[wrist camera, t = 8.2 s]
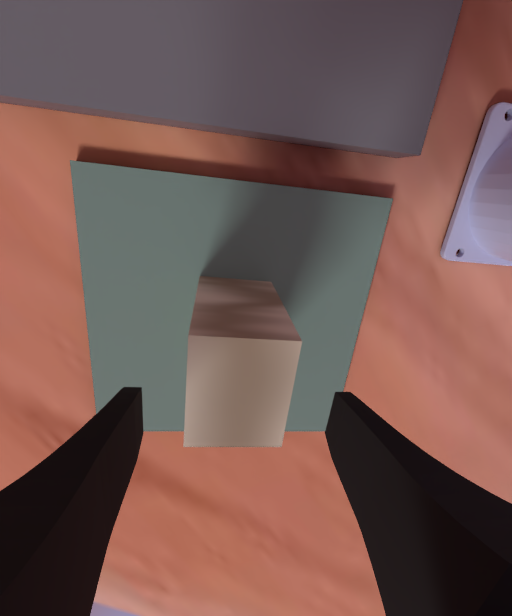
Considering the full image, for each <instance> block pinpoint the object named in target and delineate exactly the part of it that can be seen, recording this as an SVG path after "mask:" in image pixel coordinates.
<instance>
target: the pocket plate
mask: <svg viewBox="0 0 512 616" xmlns="http://www.w3.org/2000/svg"><path fill="white" fill-rule="evenodd" d="M462 3H463V0H0V102H1V103H8V104H15V105H22V106H29V107H37V108H44V109H51V110H58V111H65V112H72V113H79V114H87V115H94V116H101V117H108V118H115V119H122V120H130V121H137V122H144V123H151V124H158V125H165V126H172V127H180V128H187V129H194V130H201V131H208V132H215V133H223V134H230V135H237V136H244V137H251V138H258V139H265V140H273V141H280V142H287V143H294V144H301V145H308V146H316V147H323V148H330V149H337V150H344V151H351V152H358V153H366V154H373V155H380V156H387V157H394V158H401V157H410V156H418V155H421V151H422V147H423V144H424V140H425V137H426V133H427V129H428V126H429V122H430V119H431V115H432V111H433V108H434V104H435V100H436V97H437V93H438V90H439V86H440V82H441V79H442V75H443V72H444V68H445V64H446V61H447V57H448V54H449V50H450V46H451V43H452V39H453V36H454V32H455V28H456V25H457V21H458V17H459V14H460V10H461V7H462Z"/></svg>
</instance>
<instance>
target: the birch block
mask: <svg viewBox="0 0 512 616" xmlns="http://www.w3.org/2000/svg"><path fill="white" fill-rule="evenodd" d="M301 345H302V340H301V338H300V336H299V334H298V332H297V330H296V328H295V326H294V324H293V323H292V321H291V319H290V317H289V315H288V313H287V311H286V309H285V307H284V305H283V303H282V301H281V299H280V297H279V296H278V294H277V292H276V290H275V288H274V286H273V284H272V282H268V281H255V280H243V279H231V278H219V277H207V276H200V277H199V282H198V287H197V292H196V298H195V303H194V308H193V313H192V318H191V324H190V329H189V334H188V353H187V376H186V400H185V423H184V447H282V441H283V436H284V431H285V426H286V421H287V416H288V411H289V406H290V401H291V396H292V391H293V386H294V381H295V376H296V371H297V366H298V360H299V355H300V350H301Z"/></svg>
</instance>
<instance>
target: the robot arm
mask: <svg viewBox="0 0 512 616" xmlns="http://www.w3.org/2000/svg"><path fill="white" fill-rule="evenodd" d="M506 111H507V113H508V117H507V119H506V120H505V118H504V117H505V113H506ZM459 249H460V251H459V253H458V254H457V255H456V252H457V250H459ZM440 254H441V257H442V258H443V259H446V260H450V261H461V262H472V263H483V264H494V265H505V266H512V103H506V102H500V103H497V104H494V105H492V106H491V107H490V108H489V109H488V111H487V113H486V116H485V119H484V122H483V125H482V128H481V131H480V134H479V137H478V140H477V143H476V146H475V149H474V152H473V155H472V158H471V161H470V164H469V167H468V170H467V173H466V176H465V179H464V182H463V185H462V188H461V191H460V194H459V197H458V200H457V203H456V206H455V209H454V212H453V215H452V218H451V221H450V224H449V227H448V230H447V233H446V236H445V239H444V242H443V245H442V248H441V252H440ZM325 435H326V439H327V443H328V447H329V450H330V454H331V457H332V460H333V463H334V465H335V468H336V470H337V473H338V475H339V477H340V480H341V482H342V485H343V487H344V490H345V492H346V494H347V497H348V499H349V502H350V504H351V506H352V509H353V511H354V514H355V516H356V519H357V521H358V524H359V527H360V529H361V532H362V535H363V538H364V541H365V545H366V548H367V551H368V554H369V557H370V561H371V564H372V567H373V571H374V574H375V578H376V581H377V585H378V588H379V592H380V595H381V598H382V602H383V606H384V610H385V613H386V616H512V504H511V503H509V502H507V501H505V500H503V499H501V498H499V497H497V496H496V495H494V494H492V493H490V492H488V491H486V490H485V489H483V488H481V487H480V486H478V485H476V484H474V483H473V482H471V481H469V480H467V479H466V478H464V477H462V476H461V475H459V474H458V473H456V472H454V471H453V470H451V469H450V468H448V467H447V466H445V465H444V464H442V463H441V462H439V461H438V460H436V459H435V458H433V457H432V456H430V455H429V454H427V453H426V452H425V451H423V450H422V449H420V448H419V447H418V446H416V445H415V444H414V443H412V442H411V441H410V440H408V439H407V438H406V437H405V436H403V435H402V434H401V433H399V432H398V431H397V430H396V429H394V428H393V427H392V426H391V425H389V424H388V423H387V422H386V421H385V420H383V419H382V418H381V417H380V416H379V415H377V414H376V413H375V412H374V411H373V410H372V409H370V408H369V407H368V406H367V405H366V404H364V403H363V402H362V401H361V400H360V399H358V398H357V397H356V396H355V395H353V394H352V393H351V392H335V394H334V398H333V402H332V406H331V410H330V414H329V418H328V422H327V426H326V430H325ZM142 436H143V406H142V387H123V388H122V389H121V390H120V391H119V392H118V393H117V394H116V395H115V396H114V397H113V398H112V399H111V400H110V401H109V402H108V403H107V404H106V405H105V406H104V407H103V408H102V409H101V410H100V411H99V412H98V413H97V414H96V415H95V416H94V417H93V418H92V419H91V420H89V421H88V422H87V423H86V424H85V425H84V426H83V427H82V428H81V429H80V430H79V431H78V432H77V433H75V434H74V435H73V436H72V437H71V438H70V439H69V440H67V441H66V442H65V443H64V444H63V445H62V446H60V447H59V448H58V449H57V450H56V451H54V452H53V453H52V454H51V455H50V456H48V457H47V458H46V459H45V460H43V461H42V462H41V463H39V464H38V465H37V466H35V467H34V468H33V469H31V470H30V471H29V472H27V473H26V474H25V475H23V476H22V477H21V478H19V479H18V480H16V481H15V482H13V483H12V484H10V485H9V486H7V487H6V488H4V489H3V490H1V491H0V616H90V613H91V609H92V605H93V601H94V597H95V593H96V589H97V585H98V581H99V577H100V573H101V569H102V565H103V562H104V558H105V554H106V550H107V546H108V543H109V540H110V536H111V533H112V530H113V527H114V524H115V521H116V518H117V516H118V513H119V510H120V507H121V504H122V501H123V499H124V496H125V493H126V490H127V487H128V485H129V482H130V479H131V476H132V473H133V470H134V467H135V464H136V461H137V458H138V454H139V449H140V445H141V441H142Z"/></svg>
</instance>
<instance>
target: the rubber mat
mask: <svg viewBox="0 0 512 616" xmlns="http://www.w3.org/2000/svg"><path fill="white" fill-rule="evenodd" d="M70 166H71V175H72V185H73V195H74V204H75V214H76V223H77V233H78V242H79V252H80V262H81V271H82V281H83V290H84V300H85V310H86V319H87V329H88V338H89V348H90V358H91V367H92V377H93V386H94V396H95V406H96V414H97V413H98V412H99V411H100V410H101V409H102V408H103V407H104V406H105V405H106V404H107V403H108V402H109V401H110V400H111V399H112V398H113V397H114V396H115V395H116V394H117V393H118V392H119V391H120V390H121V389H122V388H123V387H142V406H143V431H184V423H185V400H186V376H187V353H188V334H189V329H190V324H191V318H192V313H193V308H194V303H195V298H196V292H197V287H198V282H199V277H200V276H207V277H219V278H231V279H243V280H255V281H268V282H272V284H273V286H274V288H275V290H276V292H277V294H278V296H279V297H280V299H281V301H282V303H283V305H284V307H285V309H286V311H287V313H288V315H289V317H290V319H291V321H292V323H293V324H294V326H295V328H296V330H297V332H298V334H299V336H300V338H301V340H302V345H301V350H300V355H299V360H298V366H297V371H296V376H295V381H294V386H293V391H292V396H291V401H290V406H289V411H288V416H287V421H286V426H285V431H325V430H326V426H327V422H328V418H329V414H330V410H331V406H332V402H333V398H334V394H335V392H343V389H344V386H345V382H346V378H347V374H348V370H349V366H350V363H351V359H352V355H353V351H354V347H355V343H356V339H357V336H358V332H359V328H360V324H361V320H362V316H363V312H364V309H365V305H366V301H367V297H368V293H369V289H370V285H371V282H372V278H373V274H374V270H375V266H376V262H377V259H378V255H379V251H380V247H381V243H382V239H383V235H384V232H385V228H386V224H387V220H388V216H389V212H390V208H391V205H392V201H393V199H392V198H383V197H375V196H366V195H358V194H350V193H341V192H333V191H324V190H316V189H307V188H299V187H291V186H282V185H274V184H265V183H257V182H249V181H240V180H232V179H223V178H215V177H206V176H198V175H190V174H181V173H173V172H164V171H156V170H148V169H139V168H131V167H122V166H114V165H105V164H97V163H89V162H80V161H72V160H70Z"/></svg>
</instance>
